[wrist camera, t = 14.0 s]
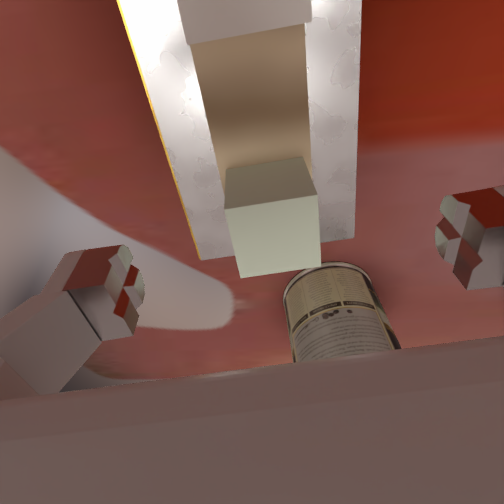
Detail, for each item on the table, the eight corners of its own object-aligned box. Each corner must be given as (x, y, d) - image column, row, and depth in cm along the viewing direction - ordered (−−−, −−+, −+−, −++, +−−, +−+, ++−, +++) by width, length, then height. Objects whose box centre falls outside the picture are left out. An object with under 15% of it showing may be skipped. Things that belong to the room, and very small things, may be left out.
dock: (67, -204, 17) (40, -233, 15) (352, -272, 17) (371, -314, 14) (201, 241, 35) (199, 260, 32) (345, 219, 34) (354, 237, 31)
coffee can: (391, 285, 39) (453, 405, 28) (328, 335, 44) (360, 453, 33) (325, 244, 36) (366, 365, 24) (264, 303, 40) (275, 426, 29)
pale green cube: (225, 169, 23) (224, 209, 19) (302, 156, 22) (317, 194, 18) (239, 232, 26) (240, 278, 22) (307, 221, 25) (321, 266, 21)
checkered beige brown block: (155, -153, 17) (137, -184, 14) (280, -181, 16) (292, -219, 13) (237, 226, 30) (238, 255, 27) (307, 216, 30) (315, 244, 27)
